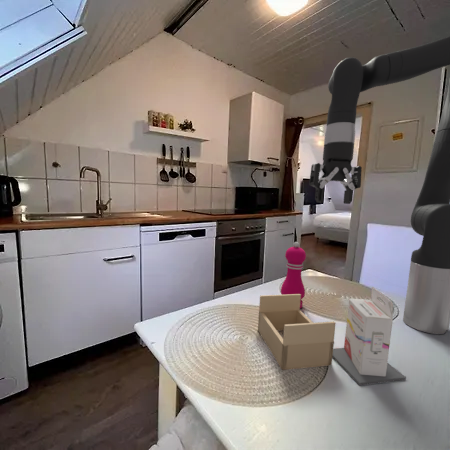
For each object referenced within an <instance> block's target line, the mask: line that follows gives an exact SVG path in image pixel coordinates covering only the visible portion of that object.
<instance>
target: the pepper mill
mask: <svg viewBox="0 0 450 450" xmlns="http://www.w3.org/2000/svg"><path fill="white" fill-rule="evenodd" d="M292 245H293V246H291V247H289V248H287V249H286V251H285V255H284V256H285V259H286V260H287V261H286V265H285V266H286V268H287V272H286V276H285V277H284V278H285V279H284V280H283V282H282V284H281V287H280V293H281V294H280V295H286V294H301V300H300V310H301V309H302V308H303V300H302V299H303V298H305V295H306V290H305V289H306V288H305V285H304V282H303V280H302V271H303V269H304V262H305V260H306V259H307V254H306V251H305V250H304V249H303V248H302V247H300V243H299V242H298V241H294V242H293V244H292Z"/></svg>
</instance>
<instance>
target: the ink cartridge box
mask: <svg viewBox="0 0 450 450" xmlns="http://www.w3.org/2000/svg"><path fill="white" fill-rule="evenodd" d="M370 293H371V299H365V298H364V299H362V298H361V299H360V298H352V297H351V298H349V299H348V308H347V315H346V316H347V317H346V324H345V325H346V326H345V334H344V335H345V336H344V345H343V348H344V349H345V350H346V352H347V354H348V355H349V357H350V358H351V360H352V362H353V363H354V365H355V367H356V368H357V370H358V372H359V373H360V374H361V375H372V376H384V377H385V376H386V370H387V363H389V362H388V359H389V353H390V347H391V346H390V344H391V339H392V338H391V337H392V329H393V322H394V321H393V313H394V310H393V309H394V304H393V301H392V300H391V299H389V297H387V296H385V294H383V293H382V292H380V290H378V289H376V288H375V287H374V286H372V287H371V292H370ZM379 299H381V300H382V301H383V302H384V303H383V302H382V301H381V300H379Z"/></svg>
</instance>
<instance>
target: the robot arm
mask: <svg viewBox="0 0 450 450" xmlns="http://www.w3.org/2000/svg"><path fill="white" fill-rule="evenodd" d="M447 66H450V36H447V37H443V38H440V39H437V40H435V41H434V40H433V41H432V42H431V41H430V42H427V43H424V44H420V45H417V46H414V47H413V46H412V47H409V48H406V49H400V50H397V51H393V52H388V53H385V54H379V55H378V56H374V57H373V58H372V59H371V60H370V61H368V62H367V63H365V64H362V62H361V60H360V59H358V58H357V57H354V56H353V57H345V58H344V59H343V60H341V61H340V62H339V63H337V65H336V66H335V68H334V69H333V72H332V74H331V76H330V79H328V86H327V87H328V92H329V93H330V94H331V102H330V104H329V106H328V111H327V119H326V127H325V128H326V129H325V133H324V140H323V152H322V153H323V154H322V161H323V162H322V164H321V163H320V162H318V163H317V162H316V163H313V164H312V165H311V168H310V175H309V181H308V182H309V183H308V185H309V186H310V187H313V188H315V192H314V195H315V197H314V200H315V201H316V203H319V204H323V202H324V195H325V189H324V188H325V187H326V185H327V184H328V183H329V182H340V184H341V185H343V187H344V189H345V190H344V193H343V204H347V205H350V204H351V203H352V201H353V198H354V197H353V196H354V191H355V190H356V189H360V188H361V186H362V171H363V170H362V166H361V165H358V166H353V165H352V162H353V158H354V150H355V140H356V120H357V106H358V101H359V99H360V94H361V93H363V92H365V91H367V90H370V89H373V88H376V87H383V86H387V85H388V86H389V85H391V84H392V85H393V84H397V83H401V82H405V81H407V80H410V79H414V78H417V77H420V76H423V75H424V74H426V73H430V72H432V71H434V70H437V69H440V68H443V67H447ZM445 97H446V98H445V101H444V106H443V109H442V112H441V116H440V120H439V124H438V127H437V130H436V134H435V137H434V141H433V145H432V150H431V154H430V159H429V161H428V165H427V170H426V172H425V177H424V181H423V183H422V186H421V190H420V191H419V195H418V198H417V200H416V202H415V204H414V207H413V210H412V212H411V216H410V225H411V228H412V230H413V231H414V232H415V233H416V234H418V235H419V236H422V241H421V245H420V247H419V248H418V249H414V250H413V251H412V252H411V257H410V264H409V265H410V266H409V271H408V272H409V273H408V281H407V288H406V295H405V301H404V302H405V303H404V310H403V317H402V321H403V322H404V323H405V324H406V326H409V327H411V328H413V329H414V330H415V329H416V331H417V330H418V331H420V332H424V333H428V334H432V335H443V334H445V333H446V332H447V331H449V330H450V78H449V82H448V87H447V93H446V96H445ZM321 171H322V173H323V174H322V175H321V176H320V173H321ZM350 174H351V175H350Z"/></svg>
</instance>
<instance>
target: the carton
mask: <svg viewBox="0 0 450 450" xmlns="http://www.w3.org/2000/svg"><path fill="white" fill-rule="evenodd" d="M300 300H302V299H301V294H286V295H282V294H269V295H268V294H266V295H260V296H259V309H258V319H257V320H258V321H257V331H258V332H259V334H260V336H261V337H262V339H263V341H264V342H265V344H266V346H267V347H268V350H269V351H270V353H271V354H272V356H273V358H274V359H275V361H276V363H277V364H278V365H279V367H280V369H281V370H282V371H288V370H297V369H298V370H299V369H308V368H317V367H328V366H332V365H333V358H332V356H333V349H334V345H335V334H336V333H335V332H336V321H335V320H334V321H325V322H324V321H323V322H322V321H321V322H313V321H312V320H311V319H310V318H309V317H308V316H307V315H306V314H305V313H304V312H302V310H301V309H300ZM279 331H283V337H282V335H281V334H280V333H279Z"/></svg>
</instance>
